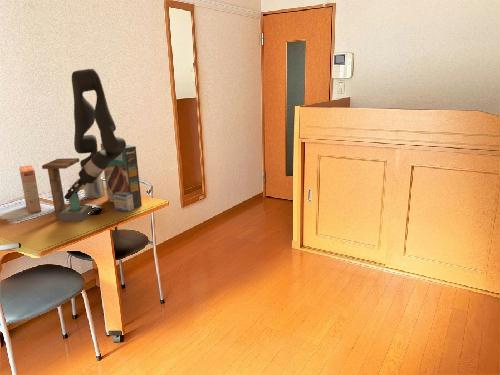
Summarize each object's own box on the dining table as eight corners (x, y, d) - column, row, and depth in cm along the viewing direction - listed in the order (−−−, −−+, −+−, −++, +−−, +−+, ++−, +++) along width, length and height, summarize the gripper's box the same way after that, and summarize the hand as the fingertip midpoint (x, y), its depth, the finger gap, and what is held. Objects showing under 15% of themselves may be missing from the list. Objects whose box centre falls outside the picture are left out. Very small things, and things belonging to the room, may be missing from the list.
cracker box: (42, 211, 190) (34, 169, 185) (28, 214, 187) (20, 171, 181) (39, 204, 202) (32, 164, 196) (26, 206, 199) (18, 166, 193)
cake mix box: (107, 200, 206) (100, 143, 197) (118, 197, 210) (111, 142, 202) (131, 208, 192) (124, 148, 184) (141, 205, 197) (135, 146, 188)
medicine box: (114, 210, 190) (112, 193, 187) (120, 207, 194) (118, 190, 191) (128, 212, 187) (126, 194, 185) (134, 209, 191) (132, 192, 189)
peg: (77, 215, 184) (74, 193, 181) (83, 216, 182) (80, 194, 179) (69, 218, 181) (66, 195, 178) (75, 219, 179) (72, 196, 176)
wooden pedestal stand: (66, 212, 188) (57, 158, 181) (86, 212, 188) (79, 158, 181) (52, 223, 175) (41, 165, 167) (74, 222, 175) (65, 165, 167)
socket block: (70, 213, 186) (69, 206, 185) (91, 213, 186) (90, 205, 185) (60, 221, 177) (59, 213, 176) (82, 221, 177) (81, 212, 176)
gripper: (91, 161, 181) (70, 185, 185) (78, 168, 168) (56, 194, 171) (104, 172, 183) (83, 196, 186) (92, 180, 169) (69, 206, 173)
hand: (70, 195), depth 179 cm, fingers open, 8 cm apart
